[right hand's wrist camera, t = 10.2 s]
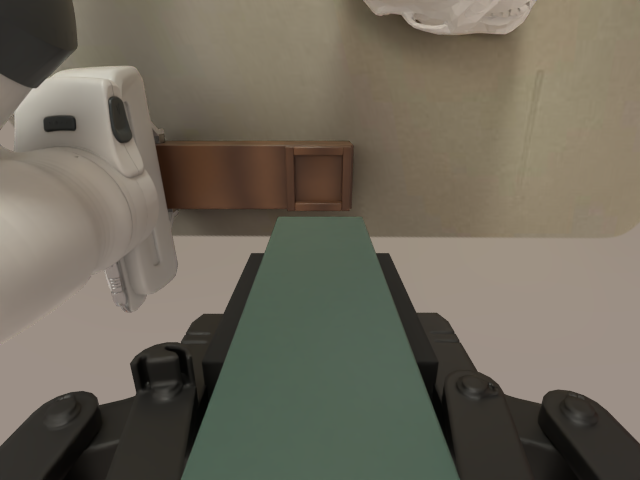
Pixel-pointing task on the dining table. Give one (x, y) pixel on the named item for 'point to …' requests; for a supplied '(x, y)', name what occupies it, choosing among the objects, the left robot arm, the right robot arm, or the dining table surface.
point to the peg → (320, 372)
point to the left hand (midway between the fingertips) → (164, 172)
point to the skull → (457, 14)
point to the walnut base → (257, 174)
